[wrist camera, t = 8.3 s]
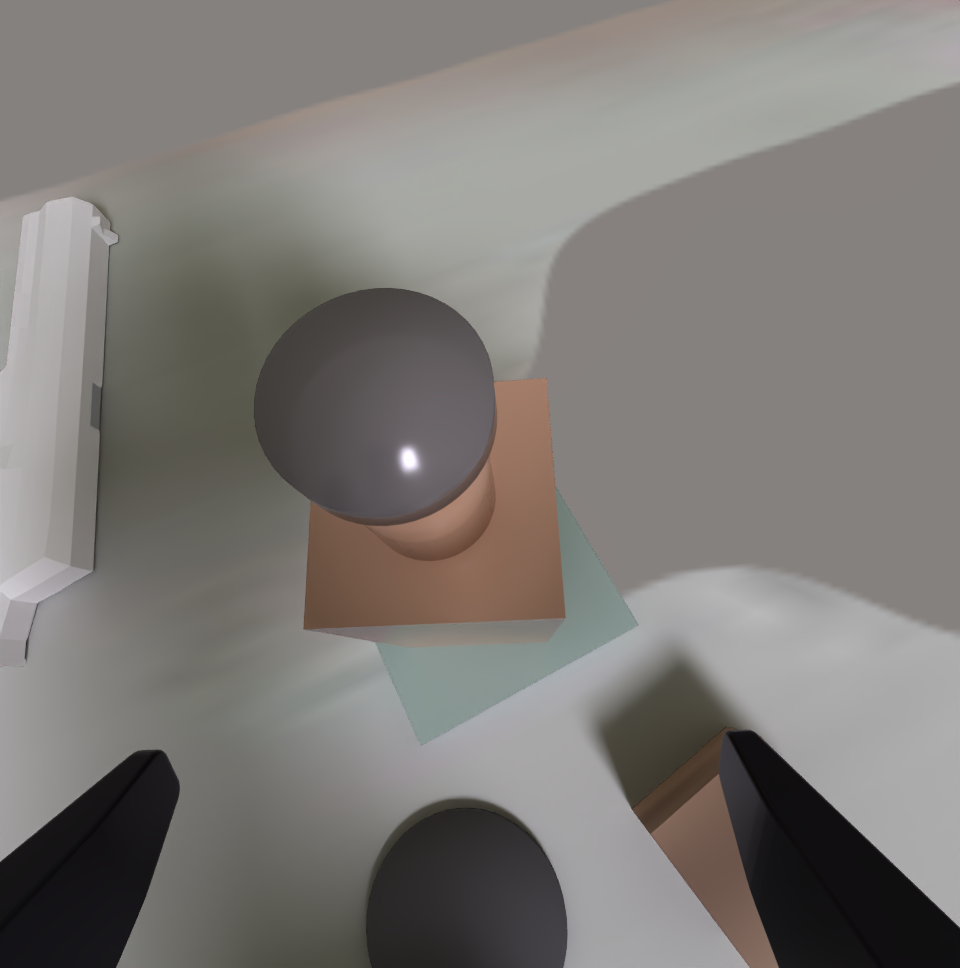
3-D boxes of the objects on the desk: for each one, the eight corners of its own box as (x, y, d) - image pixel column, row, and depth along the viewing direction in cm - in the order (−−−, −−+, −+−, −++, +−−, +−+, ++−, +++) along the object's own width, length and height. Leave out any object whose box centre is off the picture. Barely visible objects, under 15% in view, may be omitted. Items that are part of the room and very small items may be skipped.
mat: (634, 626, 20) (638, 624, 19) (424, 742, 19) (420, 745, 18) (521, 436, 22) (521, 428, 21) (332, 534, 21) (325, 529, 21)
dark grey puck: (605, 976, 17) (606, 981, 16) (420, 1087, 16) (418, 1095, 16) (507, 772, 18) (506, 773, 18) (339, 867, 18) (335, 870, 18)
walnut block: (820, 839, 17) (877, 873, 15) (722, 931, 17) (762, 984, 14) (725, 726, 19) (760, 736, 16) (631, 808, 18) (650, 834, 15)
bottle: (547, 641, 19) (593, 581, 6) (408, 647, 19) (153, 602, 6) (537, 507, 20) (557, 212, 7) (409, 514, 21) (202, 244, 7)
